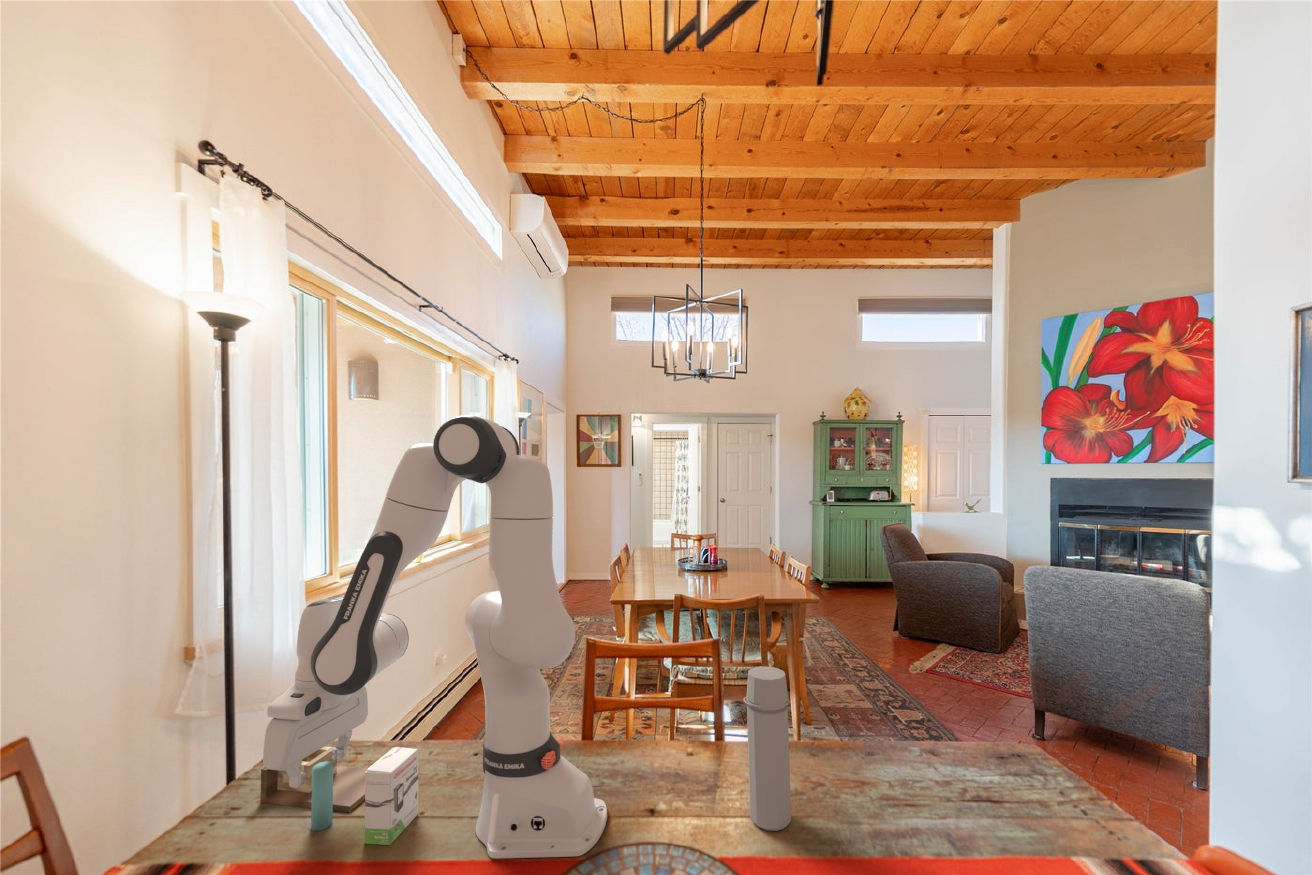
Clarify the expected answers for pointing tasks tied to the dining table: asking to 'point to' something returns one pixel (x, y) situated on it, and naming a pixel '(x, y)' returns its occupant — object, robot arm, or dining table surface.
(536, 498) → the robot arm
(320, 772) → the dowel
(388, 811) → the ink box
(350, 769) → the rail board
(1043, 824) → the dining table surface
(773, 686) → the water bottle
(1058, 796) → the dining table surface
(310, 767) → the wooden square socket
